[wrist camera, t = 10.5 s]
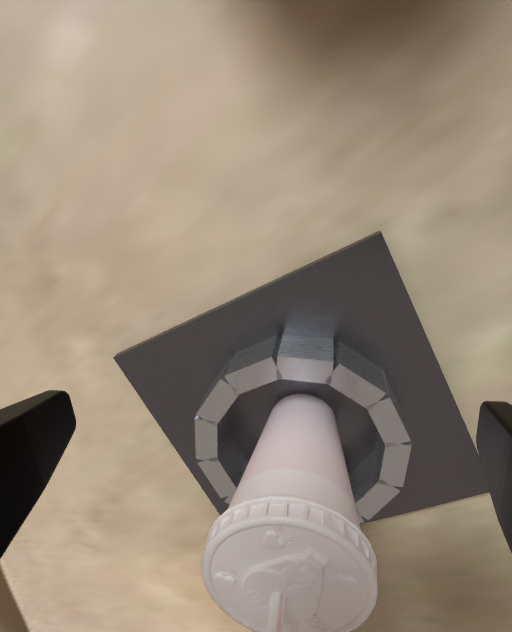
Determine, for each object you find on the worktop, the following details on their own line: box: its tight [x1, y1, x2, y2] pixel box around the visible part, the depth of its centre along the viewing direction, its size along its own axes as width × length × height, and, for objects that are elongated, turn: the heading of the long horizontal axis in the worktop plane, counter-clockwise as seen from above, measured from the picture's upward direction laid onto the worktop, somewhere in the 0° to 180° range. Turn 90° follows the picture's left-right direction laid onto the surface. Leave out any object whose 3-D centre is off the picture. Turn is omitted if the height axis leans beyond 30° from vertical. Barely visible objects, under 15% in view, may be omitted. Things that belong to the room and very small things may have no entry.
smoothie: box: [201, 394, 378, 632], centre depth 17 cm, size 6×6×14 cm
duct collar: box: [114, 231, 490, 524], centre depth 23 cm, size 16×16×3 cm
